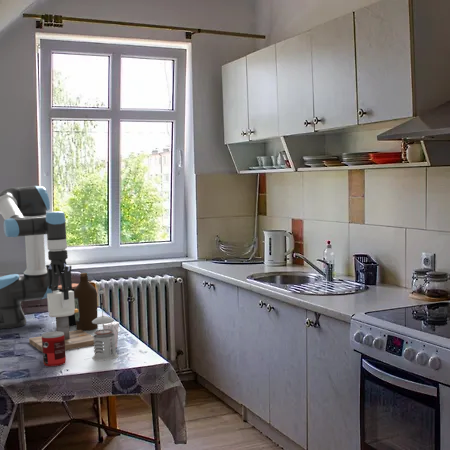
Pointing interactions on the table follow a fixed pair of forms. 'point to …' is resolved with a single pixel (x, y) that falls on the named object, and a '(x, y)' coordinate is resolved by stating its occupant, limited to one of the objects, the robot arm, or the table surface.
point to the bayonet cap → (60, 305)
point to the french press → (104, 339)
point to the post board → (72, 338)
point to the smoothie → (113, 329)
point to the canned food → (53, 348)
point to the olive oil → (85, 304)
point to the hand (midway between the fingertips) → (61, 306)
